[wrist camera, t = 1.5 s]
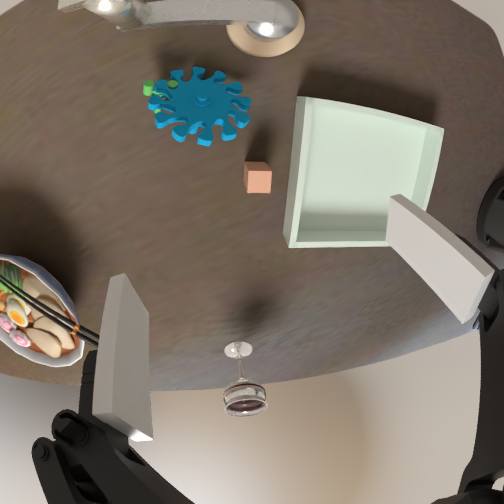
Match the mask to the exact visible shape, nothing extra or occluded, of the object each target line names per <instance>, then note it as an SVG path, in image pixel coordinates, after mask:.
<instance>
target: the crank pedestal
mask: <svg viewBox="0 0 504 504" xmlns="http://www.w3.org/2000/svg"><path fill="white" fill-rule="evenodd" d="M292 2H293V1H292ZM293 3H294V2H293ZM294 4H295V3H294ZM295 6H296V7H297V5H296V4H295ZM297 9H298V12H299V22H298V25H297V27H296V28H295V29H294V30H293V31H292V32H291V33H290V34H288V35H287V36H285V37H284V38H282V39H281V40H278V41H275V42H262V41H258V40H256V39H254V38H252V37H251V36H249V35H248V34H247V33H246V31H245V30H244V28H243V26H241V25H226V31H227V34H228V37H229V39H230V40H231V42H232V43H233V44H234V45H235V46H236V47H237V48H238V49H239V50H241V51H242V52H244V53H246V54H248V55H251V56H255V57H261V58H268V57H275V56H278V55H281V54H283V53H285V52H287V51H289V50H291V49H292V48H293V47H295V46H296V45H297V44H298V43H299V41H300V40H301V38H302V36H303V33H304V28H305V23H304V18H303V15H302V13H301V11H300V9H299V8H298V7H297Z"/></svg>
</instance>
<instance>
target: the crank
mask: <svg viewBox="0 0 504 504" xmlns="http://www.w3.org/2000/svg"><path fill="white" fill-rule="evenodd" d="M81 8H86V9H88V10H90V11H92V12H94V13H96V14H97V15H99V16H101V17H103V18H104V19H106V20H108V21H110V22H111V23H113V24H115V25H116V26H117V27H116V29H117V30H119V31H121V32H122V33H124V32H130V31H136V30H143V29H151V28H160V27H171V26H186V25H241V26H243V28H244V30H245V31H246V33H247V34H248V35H249V36H251V37H252V38H254V39H256V40H258V41H262V42H275V41H278V40H281V39H282V38H284V37H285V36H287V35H288V34H290V33H291V32H292V31H293V30H294V29H295V28H296V27H297V25H298V22H299V12H298V9H297V7H296V6H295V4H294V3H293V2H292V1H291V0H165V1H156V2H148V3H146V2H145V1H144V0H59V4H58V10H60V11H62V12H65V13H69V12H72V11H75V10H78V9H81Z"/></svg>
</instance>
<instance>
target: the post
mask: <svg viewBox="0 0 504 504" xmlns="http://www.w3.org/2000/svg"><path fill="white" fill-rule="evenodd" d="M271 176H272V171H271V169H270V168H269V166H268V165H267V164H266V162H247V161H245V162H244V184H245V187H246V190H247V193H270V188H271Z"/></svg>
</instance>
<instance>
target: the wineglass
mask: <svg viewBox="0 0 504 504" xmlns="http://www.w3.org/2000/svg"><path fill="white" fill-rule="evenodd" d="M251 352H252V346H251V345H250V344H249V343H246V342H241V341H240V342H233V343H231V344H229V345H227V346H226V348H225V354H226V355H227V356H229V357H231V358H238V363H239V376H240V378H239V379H238V380H235V381H233V382H232V383H231V384H230V385H228V386H227V387H226V389H225V391H224V394H223V401H224V403H225V405H226V406H225V412H226V413H227V414H228V415H231V416H235V417H249V416H254V415H257V414H260V413H262V412H263V411H265V410H266V409H267V406H268V405H267V403H266V402H265V400H266V392H265V390H264V388H263V387H262V386H261V384H259V383H258V382H256V381H254V380H251V379H246V378H244V373H243V368H242V362H241V358H243V357H246V356H248V355H249V354H250V353H251Z"/></svg>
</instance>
